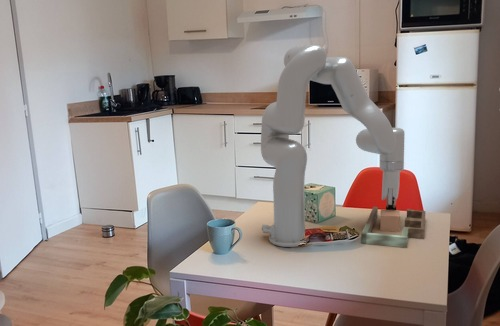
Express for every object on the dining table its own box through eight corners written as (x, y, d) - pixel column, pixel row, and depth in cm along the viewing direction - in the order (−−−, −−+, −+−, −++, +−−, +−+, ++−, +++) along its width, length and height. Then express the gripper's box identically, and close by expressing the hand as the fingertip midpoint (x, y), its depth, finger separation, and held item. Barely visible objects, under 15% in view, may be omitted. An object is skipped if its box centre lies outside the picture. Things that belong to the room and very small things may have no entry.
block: (380, 230, 158) (380, 215, 157) (380, 223, 164) (380, 209, 163) (399, 231, 156) (400, 216, 155) (398, 224, 163) (399, 210, 162)
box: (361, 243, 147) (361, 233, 146) (373, 214, 174) (373, 206, 174) (422, 249, 141) (423, 239, 140) (425, 218, 168) (425, 210, 167)
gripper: (382, 160, 170) (381, 211, 174) (378, 169, 156) (377, 224, 160) (404, 161, 168) (403, 212, 171) (402, 170, 154) (401, 225, 157)
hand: (390, 217), depth 165 cm, fingers closed
